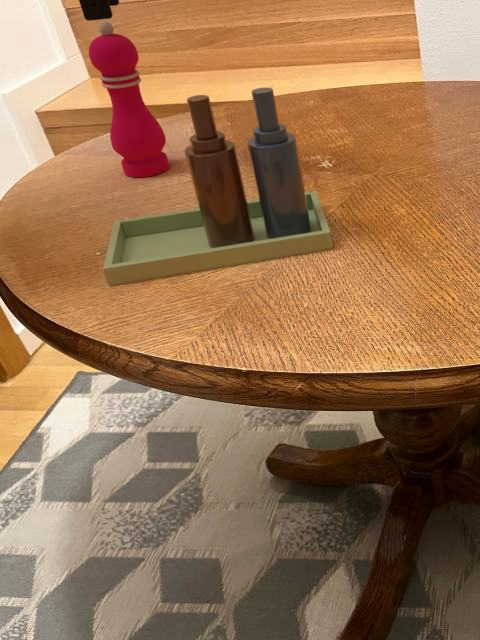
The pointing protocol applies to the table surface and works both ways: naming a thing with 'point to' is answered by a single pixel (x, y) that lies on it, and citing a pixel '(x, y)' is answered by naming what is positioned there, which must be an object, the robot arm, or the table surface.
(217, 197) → the brown bottle
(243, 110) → the table surface
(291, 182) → the blue bottle
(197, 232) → the tray
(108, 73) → the pepper mill
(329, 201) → the table surface
